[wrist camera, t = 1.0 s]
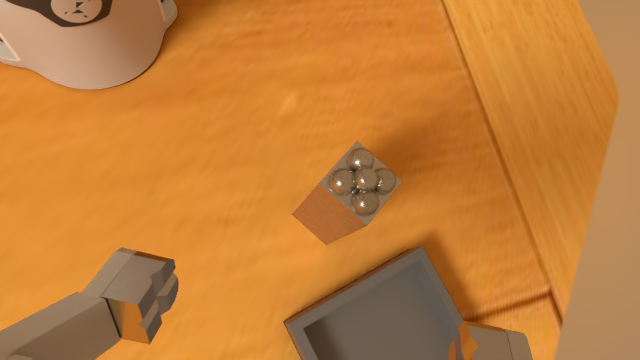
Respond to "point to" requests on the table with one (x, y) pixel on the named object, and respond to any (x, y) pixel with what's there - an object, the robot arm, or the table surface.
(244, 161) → the table surface
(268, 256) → the table surface
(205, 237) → the table surface
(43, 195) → the table surface
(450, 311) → the charcoal bin
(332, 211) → the ball-topped square pillar
